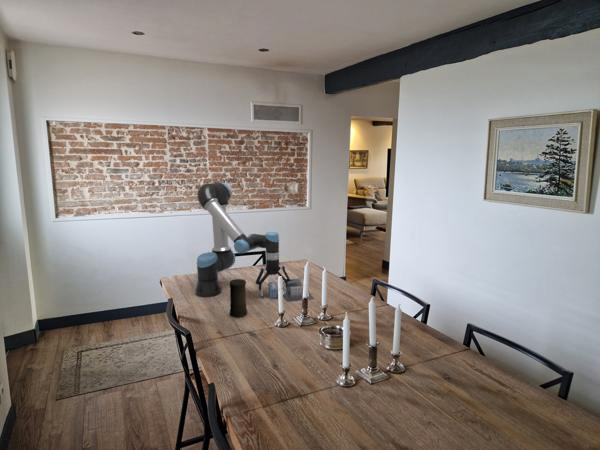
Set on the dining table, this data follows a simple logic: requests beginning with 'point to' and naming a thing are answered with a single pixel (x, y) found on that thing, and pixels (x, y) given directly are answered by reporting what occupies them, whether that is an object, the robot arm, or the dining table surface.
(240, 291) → the container
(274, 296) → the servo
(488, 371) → the dining table surface
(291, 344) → the dining table surface
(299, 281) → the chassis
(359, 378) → the dining table surface
